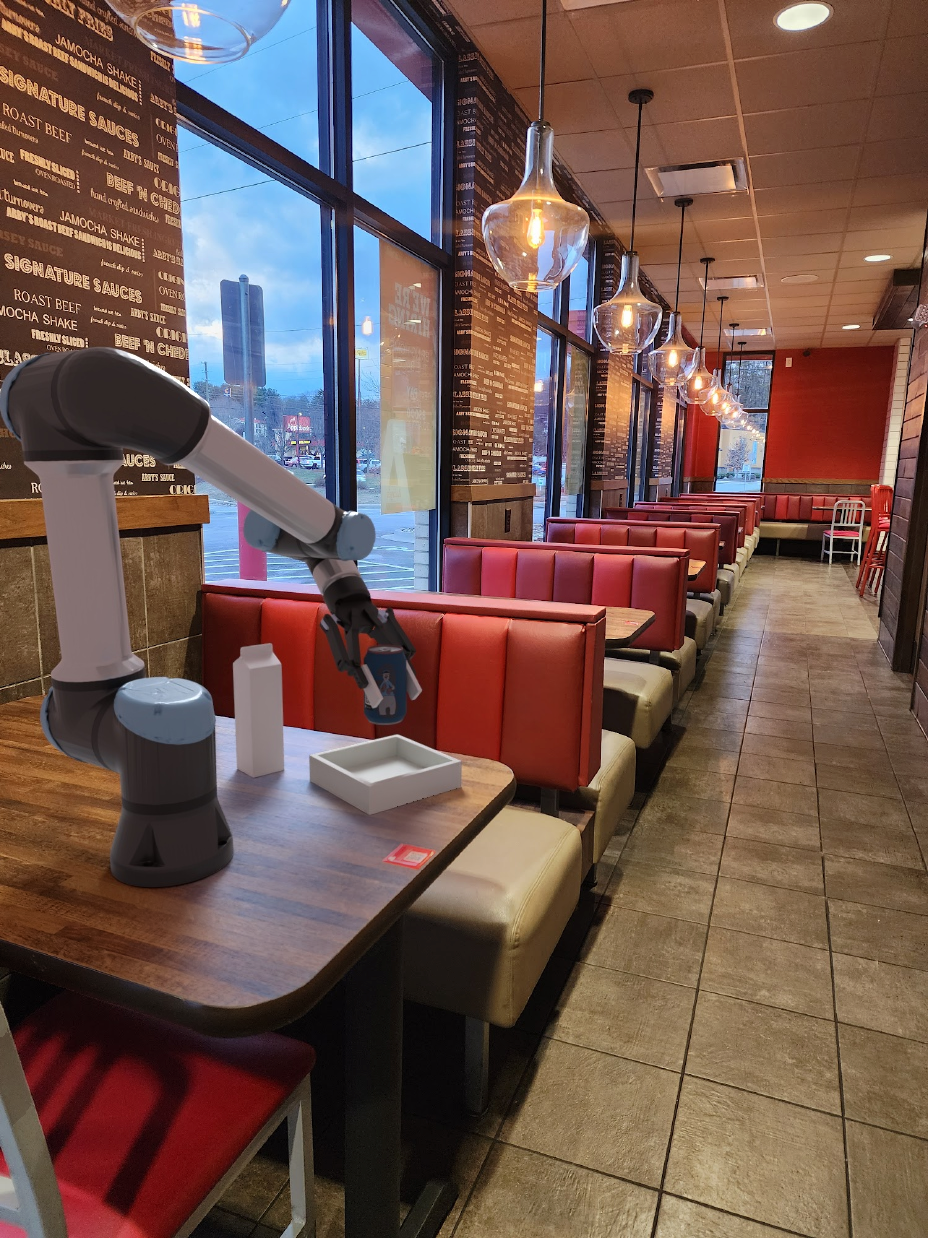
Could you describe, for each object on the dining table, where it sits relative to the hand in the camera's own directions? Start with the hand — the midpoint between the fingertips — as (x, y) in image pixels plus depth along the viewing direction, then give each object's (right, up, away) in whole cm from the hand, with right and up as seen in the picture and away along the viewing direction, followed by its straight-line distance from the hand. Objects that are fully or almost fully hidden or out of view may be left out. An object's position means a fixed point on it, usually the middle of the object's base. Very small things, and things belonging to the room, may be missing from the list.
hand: (397, 699), depth 126 cm
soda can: (-2, -4, +3) cm, 6 cm away
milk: (-25, -14, +11) cm, 30 cm away
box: (-3, -15, +5) cm, 16 cm away
